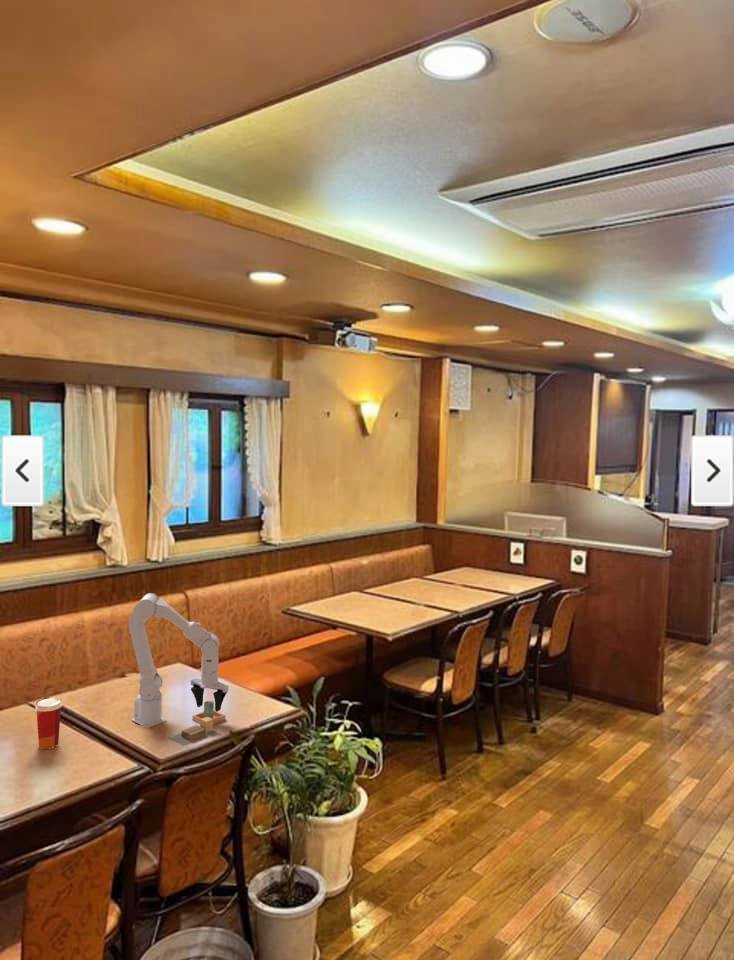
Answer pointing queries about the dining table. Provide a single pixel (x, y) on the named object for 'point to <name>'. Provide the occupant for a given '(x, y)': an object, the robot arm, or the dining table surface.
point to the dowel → (208, 709)
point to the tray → (216, 717)
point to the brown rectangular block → (193, 732)
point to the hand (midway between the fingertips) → (208, 708)
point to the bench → (204, 723)
